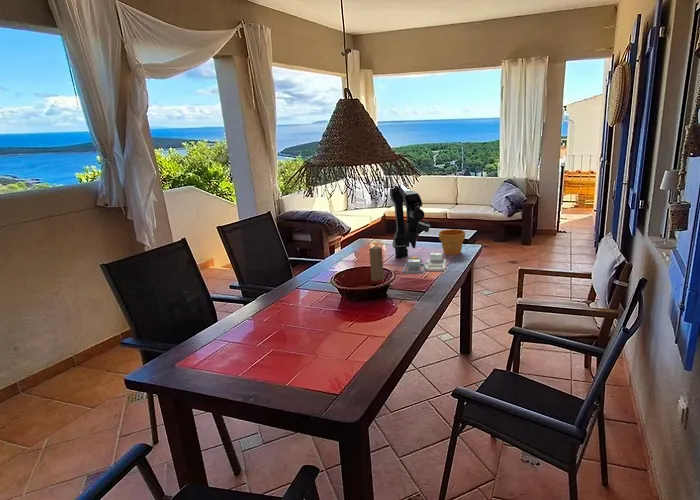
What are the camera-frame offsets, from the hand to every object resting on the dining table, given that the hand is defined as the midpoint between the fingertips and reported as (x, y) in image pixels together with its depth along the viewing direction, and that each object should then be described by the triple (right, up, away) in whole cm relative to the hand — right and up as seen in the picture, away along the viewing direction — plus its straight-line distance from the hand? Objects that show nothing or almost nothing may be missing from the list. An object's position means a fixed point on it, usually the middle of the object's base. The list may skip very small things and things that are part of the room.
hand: (414, 248), depth 218 cm
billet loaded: (+13, -8, +8) cm, 17 cm away
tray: (0, -12, +2) cm, 12 cm away
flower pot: (+25, -4, +24) cm, 35 cm away
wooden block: (-17, -18, -14) cm, 29 cm away
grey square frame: (+2, -8, +13) cm, 16 cm away
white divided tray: (+12, -10, +4) cm, 16 cm away
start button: (+2, -8, +13) cm, 15 cm away
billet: (0, -11, +2) cm, 11 cm away
